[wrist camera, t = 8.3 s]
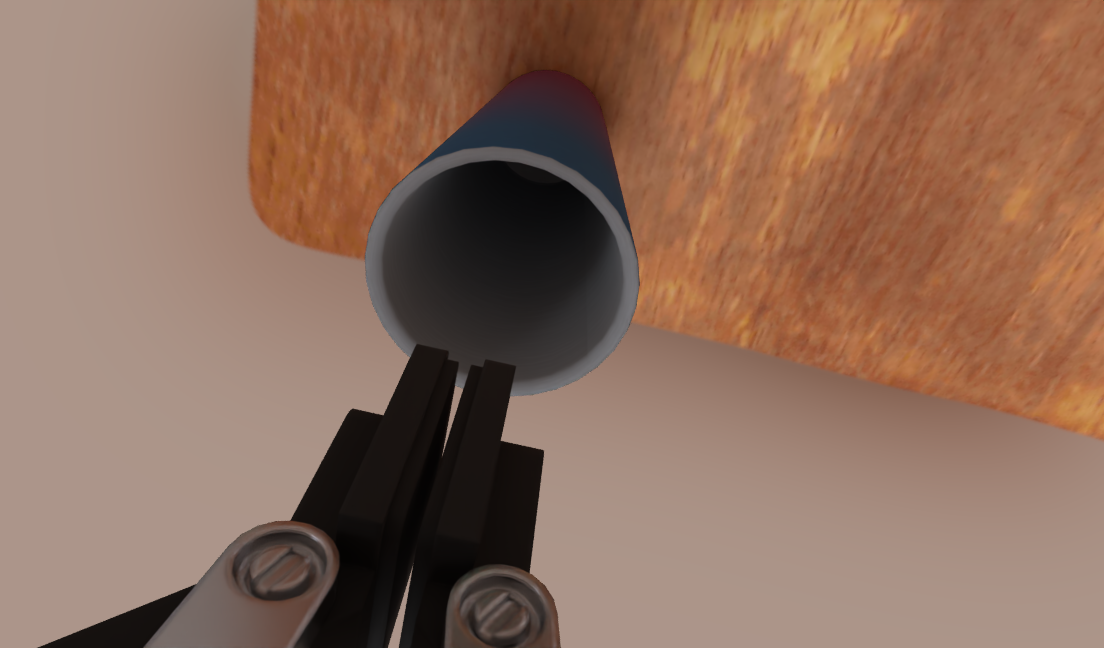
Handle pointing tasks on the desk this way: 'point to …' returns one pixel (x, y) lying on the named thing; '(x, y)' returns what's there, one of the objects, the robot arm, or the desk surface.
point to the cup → (511, 240)
